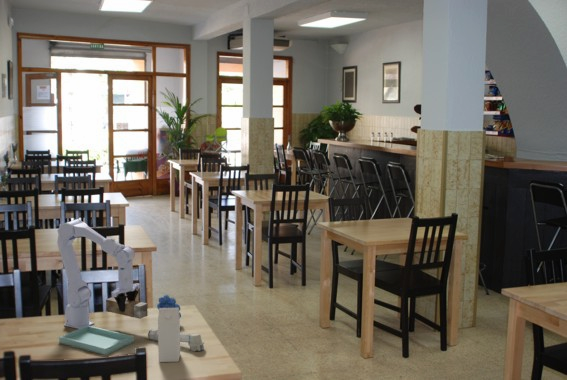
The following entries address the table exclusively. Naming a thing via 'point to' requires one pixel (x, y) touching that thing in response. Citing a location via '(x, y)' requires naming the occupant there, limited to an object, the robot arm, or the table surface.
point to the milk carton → (169, 334)
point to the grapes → (167, 303)
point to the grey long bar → (183, 339)
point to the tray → (96, 340)
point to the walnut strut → (127, 308)
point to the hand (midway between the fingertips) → (126, 309)
